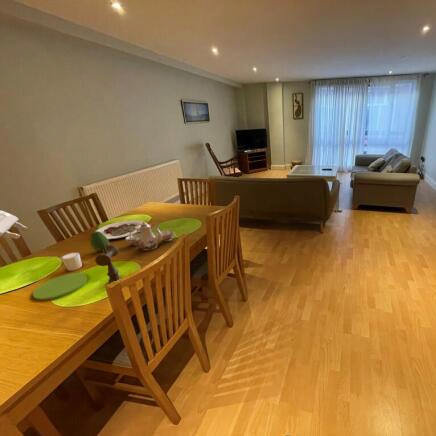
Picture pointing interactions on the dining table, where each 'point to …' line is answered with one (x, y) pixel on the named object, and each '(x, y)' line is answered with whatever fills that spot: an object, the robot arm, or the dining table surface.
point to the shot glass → (72, 261)
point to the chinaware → (149, 237)
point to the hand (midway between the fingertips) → (23, 233)
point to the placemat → (60, 286)
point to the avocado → (98, 241)
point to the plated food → (120, 229)
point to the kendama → (109, 261)
